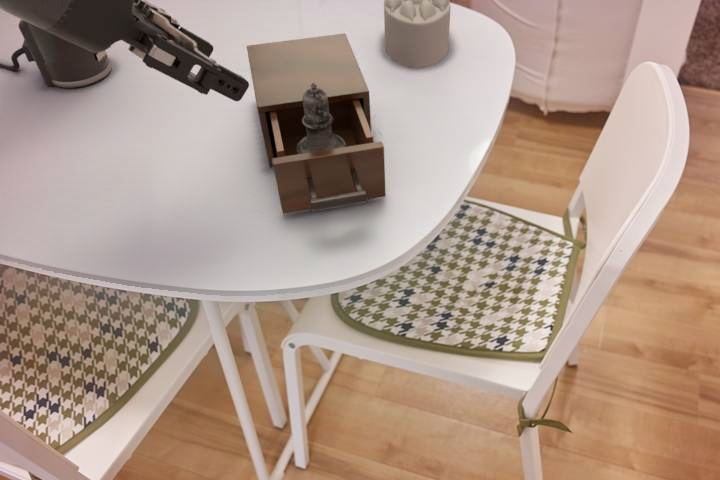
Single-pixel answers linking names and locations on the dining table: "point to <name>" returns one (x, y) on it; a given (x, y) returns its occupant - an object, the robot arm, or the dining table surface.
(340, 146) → the grey stone knobbed piece
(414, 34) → the lumpy-topped squat cylinder
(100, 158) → the dining table surface
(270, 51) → the cabinet
